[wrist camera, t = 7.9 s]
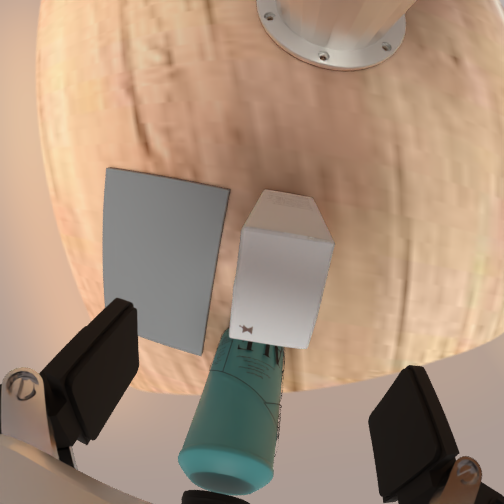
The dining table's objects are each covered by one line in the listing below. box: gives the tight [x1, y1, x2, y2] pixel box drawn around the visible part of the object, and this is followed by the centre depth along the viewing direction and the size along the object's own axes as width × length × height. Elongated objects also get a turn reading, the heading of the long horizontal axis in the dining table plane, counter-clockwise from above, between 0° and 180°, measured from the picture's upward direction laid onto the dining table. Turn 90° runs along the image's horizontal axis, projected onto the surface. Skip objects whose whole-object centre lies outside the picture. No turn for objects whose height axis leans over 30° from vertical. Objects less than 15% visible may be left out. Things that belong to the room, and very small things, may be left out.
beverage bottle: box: [178, 328, 285, 504], centre depth 19 cm, size 6×7×20 cm
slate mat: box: [103, 168, 230, 356], centre depth 27 cm, size 18×12×1 cm, turn 168°
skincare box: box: [229, 189, 335, 349], centre depth 18 cm, size 6×4×12 cm
